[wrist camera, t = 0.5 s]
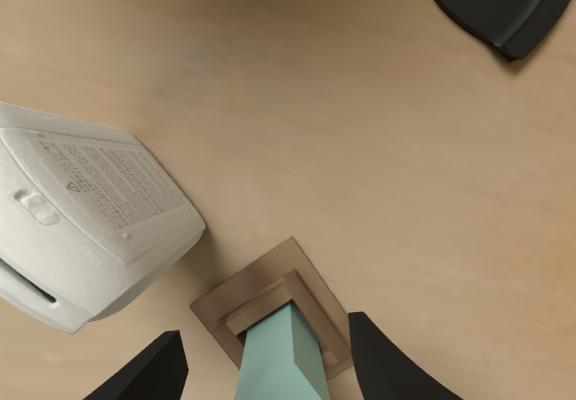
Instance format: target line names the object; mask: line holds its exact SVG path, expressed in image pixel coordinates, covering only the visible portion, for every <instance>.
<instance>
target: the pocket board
mask: <svg viewBox="0 0 576 400" xmlns="http://www.w3.org/2000/svg"><path fill="white" fill-rule="evenodd" d="M289 300H291V301H292V302H293V304H294V305H295V306H296V308H297V309H298V310H299V312H300V313H301V315H302V316H303V317H304V319H305V320H306V321H307V323H308V324H309V326H310V327H311V328H312V330H313V331H314V332H315V334H316V335H317V340H318V344H319V349H320V354H321V358H322V363H323V368H324V372H325V377H326V381H327V380H328V379H330V378H332V377H333V376H335V375H336V374H338V373H339V372H341V371H343V370H344V369H346V368H347V367H349V366H351V365H352V364H354V363H353V359H352V355H351V344H350V331H349V318H348V315H347V314H346V312H345V311H344V309H343V308H342V307H341V305H340V304H339V302H338V301H337V299H336V298H335V296H334V295H333V294H332V292H331V291H330V289H329V288H328V286H327V285H326V284H325V282H324V281H323V279H322V278H321V276H320V275H319V274H318V272H317V271H316V269H315V268H314V266H313V265H312V264H311V262H310V261H309V259H308V258H307V256H306V255H305V254H304V252H303V251H302V249H301V248H300V246H299V245H298V243H297V242H296V241H295V239H294V238H293V236H291V237H290V238H288V239H287V240H285V241H284V242H282V243H281V244H279V245H278V246H276V247H275V248H273V249H272V250H270V251H269V252H267V253H266V254H264V255H263V256H261V257H260V258H258V259H257V260H255V261H254V262H252V263H251V264H249V265H248V266H246V267H245V268H243V269H242V270H240V271H239V272H237V273H236V274H234V275H233V276H231V277H230V278H228V279H227V280H225V281H224V282H222V283H221V284H219V285H218V286H216V287H215V288H213V289H212V290H210V291H209V292H207V293H206V294H204V295H203V296H201V297H200V298H198V299H197V300H195V301H194V302H192V303H191V305H190V306H189V307H190V308H191V310H192V311H193V312H194V313H195V315H196V316H197V317H198V318H199V320H200V321H201V322H202V323H203V325H204V326H205V327H206V329H207V330H208V331H209V332H210V334H211V335H212V336H213V337H214V339H215V340H216V341H217V342H218V344H219V345H220V346H221V347H222V349H223V350H224V351H225V352H226V354H227V355H228V356H229V357H230V359H231V360H232V361H233V362H234V364H235V365H236V366H237V367H238V369H239V370H240V368H241V363H242V358H243V353H244V348H245V342H246V337H247V332H248V327H249V326H251V325H252V324H254V323H255V322H257V321H259V320H260V319H262V318H263V317H265V316H266V315H268V314H269V313H271V312H272V311H274V310H275V309H277V308H278V307H280V306H282V305H283V304H285V303H286V302H288V301H289Z"/></svg>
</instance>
